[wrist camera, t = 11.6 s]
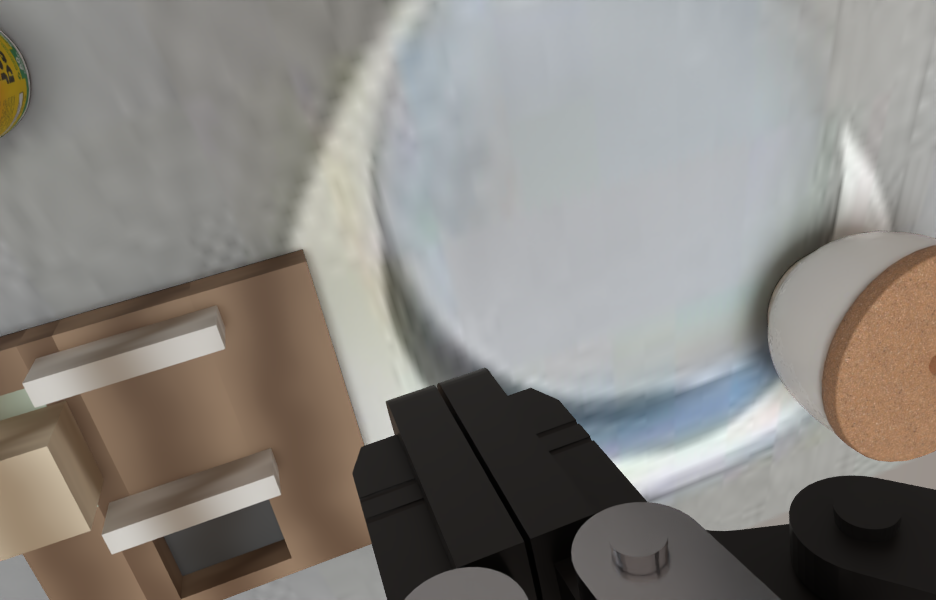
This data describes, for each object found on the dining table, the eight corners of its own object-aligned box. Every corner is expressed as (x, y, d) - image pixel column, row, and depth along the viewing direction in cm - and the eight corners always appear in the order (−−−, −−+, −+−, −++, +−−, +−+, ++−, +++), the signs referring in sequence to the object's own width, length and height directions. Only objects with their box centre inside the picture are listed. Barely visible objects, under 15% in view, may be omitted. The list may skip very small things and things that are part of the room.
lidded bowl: (772, 425, 50) (905, 524, 41) (699, 292, 45) (833, 370, 35) (915, 312, 51) (1081, 383, 41) (861, 166, 45) (1039, 208, 35)
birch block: (65, 400, 34) (47, 446, 30) (104, 479, 36) (90, 530, 32) (-40, 432, 33) (-73, 483, 29) (5, 511, 35) (-20, 568, 31)
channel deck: (302, 249, 37) (311, 278, 33) (385, 514, 44) (402, 565, 40) (-67, 356, 33) (-107, 402, 29) (87, 624, 40) (72, 691, 36)
